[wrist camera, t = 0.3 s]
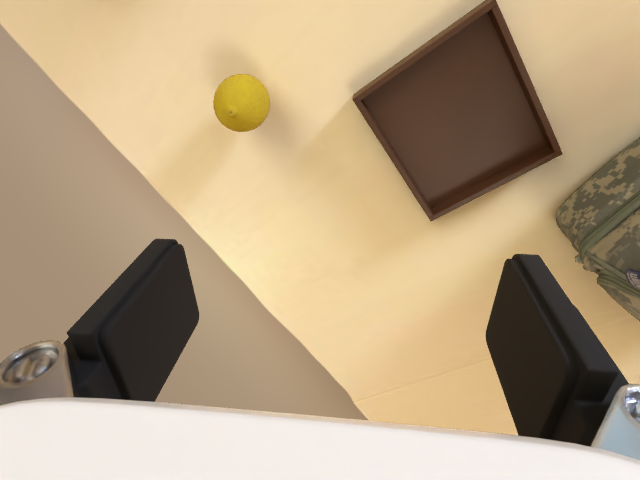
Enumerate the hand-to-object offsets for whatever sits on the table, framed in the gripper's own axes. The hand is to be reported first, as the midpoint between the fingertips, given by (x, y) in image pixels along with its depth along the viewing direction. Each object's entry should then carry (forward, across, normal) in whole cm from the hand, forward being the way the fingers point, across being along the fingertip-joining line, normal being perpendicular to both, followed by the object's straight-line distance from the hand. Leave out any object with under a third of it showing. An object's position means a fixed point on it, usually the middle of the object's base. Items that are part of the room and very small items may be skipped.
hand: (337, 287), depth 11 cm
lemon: (+36, +12, +1) cm, 38 cm away
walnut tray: (+36, -10, +4) cm, 37 cm away
